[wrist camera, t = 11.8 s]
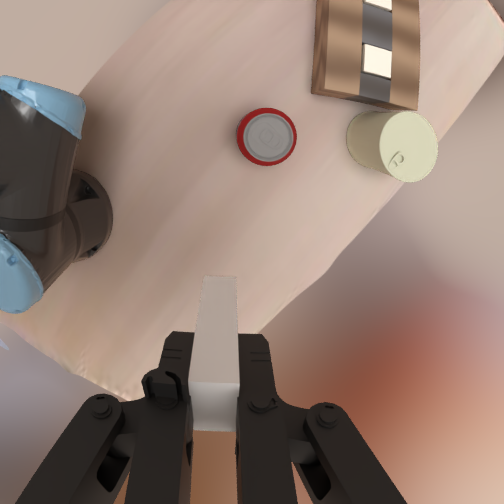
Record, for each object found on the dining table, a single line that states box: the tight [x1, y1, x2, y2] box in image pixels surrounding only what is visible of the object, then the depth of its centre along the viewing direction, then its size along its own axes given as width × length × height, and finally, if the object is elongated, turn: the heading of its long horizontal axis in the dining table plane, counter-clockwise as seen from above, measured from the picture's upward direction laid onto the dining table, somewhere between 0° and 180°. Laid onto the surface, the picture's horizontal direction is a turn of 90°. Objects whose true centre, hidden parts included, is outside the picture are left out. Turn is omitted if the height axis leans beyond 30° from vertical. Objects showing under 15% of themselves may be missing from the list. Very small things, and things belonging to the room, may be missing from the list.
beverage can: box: [236, 108, 297, 166], centre depth 36 cm, size 7×7×12 cm
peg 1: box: [362, 0, 392, 12], centre depth 30 cm, size 4×4×7 cm
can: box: [346, 111, 438, 182], centre depth 37 cm, size 9×9×12 cm
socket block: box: [311, 0, 420, 111], centre depth 32 cm, size 22×14×7 cm, turn 176°
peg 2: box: [360, 44, 392, 79], centre depth 34 cm, size 4×4×7 cm
